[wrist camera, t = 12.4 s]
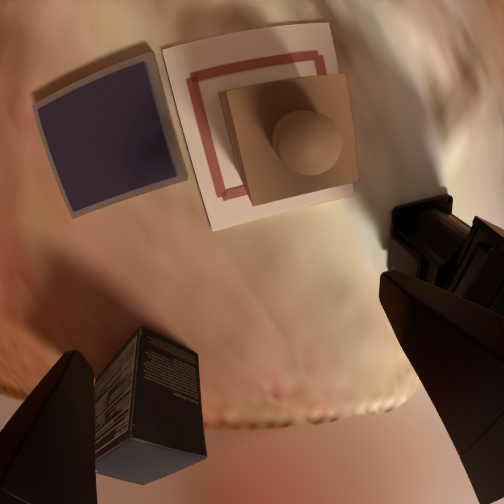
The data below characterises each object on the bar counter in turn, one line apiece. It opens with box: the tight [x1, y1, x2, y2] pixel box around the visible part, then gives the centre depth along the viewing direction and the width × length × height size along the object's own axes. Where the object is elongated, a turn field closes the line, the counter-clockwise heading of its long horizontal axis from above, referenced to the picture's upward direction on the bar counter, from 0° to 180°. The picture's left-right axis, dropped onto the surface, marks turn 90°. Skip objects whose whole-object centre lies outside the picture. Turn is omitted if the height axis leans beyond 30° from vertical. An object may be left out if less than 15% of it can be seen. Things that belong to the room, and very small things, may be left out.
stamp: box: [218, 73, 359, 207], centre depth 14 cm, size 5×5×8 cm
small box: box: [94, 327, 207, 485], centre depth 22 cm, size 11×6×10 cm, turn 137°
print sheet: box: [162, 23, 354, 231], centre depth 17 cm, size 10×12×1 cm
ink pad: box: [32, 51, 188, 219], centre depth 15 cm, size 8×8×1 cm
